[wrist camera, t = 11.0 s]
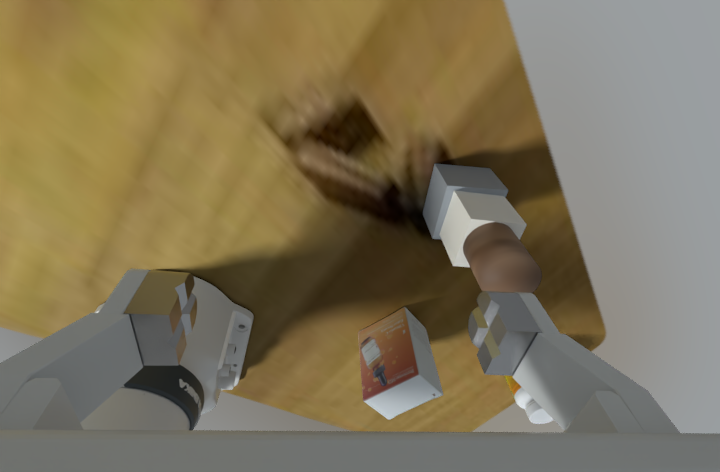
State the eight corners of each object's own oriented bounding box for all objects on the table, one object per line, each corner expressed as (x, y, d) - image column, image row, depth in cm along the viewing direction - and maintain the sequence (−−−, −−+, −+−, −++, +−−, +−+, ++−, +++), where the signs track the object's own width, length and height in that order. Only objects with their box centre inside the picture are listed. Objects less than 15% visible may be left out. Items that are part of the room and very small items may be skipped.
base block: (473, 216, 43) (488, 242, 39) (422, 213, 42) (432, 238, 38) (489, 168, 40) (508, 190, 36) (434, 163, 39) (447, 185, 35)
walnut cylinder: (503, 266, 34) (527, 305, 30) (456, 262, 34) (474, 302, 30) (522, 224, 32) (551, 261, 28) (472, 219, 31) (494, 256, 27)
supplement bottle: (489, 361, 58) (515, 422, 50) (513, 339, 56) (545, 400, 48) (515, 370, 60) (544, 430, 52) (539, 349, 58) (574, 410, 50)
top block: (486, 239, 39) (504, 270, 35) (439, 234, 38) (453, 265, 34) (504, 196, 36) (526, 224, 32) (454, 190, 35) (470, 218, 31)
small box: (404, 304, 50) (420, 373, 42) (426, 327, 53) (445, 395, 44) (356, 331, 53) (361, 402, 44) (379, 351, 55) (388, 421, 47)
